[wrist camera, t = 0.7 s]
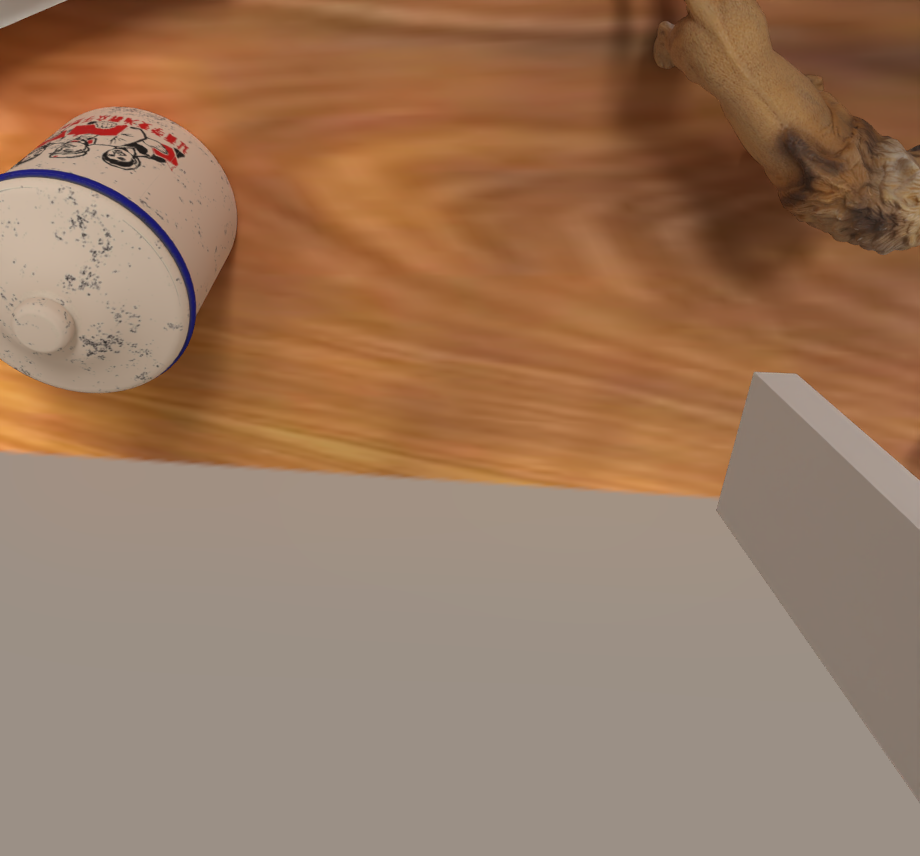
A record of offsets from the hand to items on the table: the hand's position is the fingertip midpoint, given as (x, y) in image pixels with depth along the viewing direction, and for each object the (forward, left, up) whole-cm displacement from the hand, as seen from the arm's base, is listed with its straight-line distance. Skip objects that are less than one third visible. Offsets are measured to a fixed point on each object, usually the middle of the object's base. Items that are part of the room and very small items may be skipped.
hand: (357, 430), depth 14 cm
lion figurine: (-12, +5, -26) cm, 29 cm away
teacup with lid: (+16, +2, -26) cm, 31 cm away
